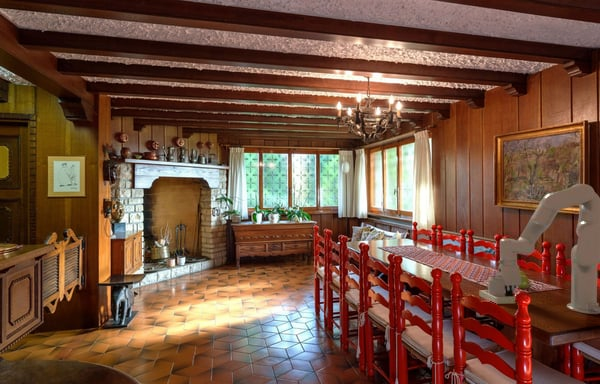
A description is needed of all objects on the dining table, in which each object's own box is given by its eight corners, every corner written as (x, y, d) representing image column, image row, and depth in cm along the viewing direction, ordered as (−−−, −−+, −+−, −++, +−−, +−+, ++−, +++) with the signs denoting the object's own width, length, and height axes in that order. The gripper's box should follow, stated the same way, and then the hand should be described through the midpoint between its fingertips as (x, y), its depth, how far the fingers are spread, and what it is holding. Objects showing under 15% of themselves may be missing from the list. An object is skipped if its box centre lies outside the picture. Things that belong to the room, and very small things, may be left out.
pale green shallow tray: (515, 303, 178) (515, 297, 178) (494, 303, 177) (494, 297, 177) (498, 295, 191) (498, 289, 191) (479, 295, 190) (479, 290, 190)
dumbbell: (530, 289, 202) (530, 277, 202) (514, 287, 206) (514, 275, 206) (526, 282, 217) (526, 271, 217) (511, 281, 221) (511, 269, 221)
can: (490, 296, 189) (490, 274, 189) (506, 299, 184) (506, 276, 184) (486, 299, 184) (486, 276, 183) (502, 302, 179) (503, 279, 178)
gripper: (499, 264, 180) (500, 300, 180) (527, 263, 181) (528, 299, 181) (490, 261, 188) (491, 296, 188) (517, 260, 189) (518, 295, 189)
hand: (509, 297), depth 184 cm, fingers closed
